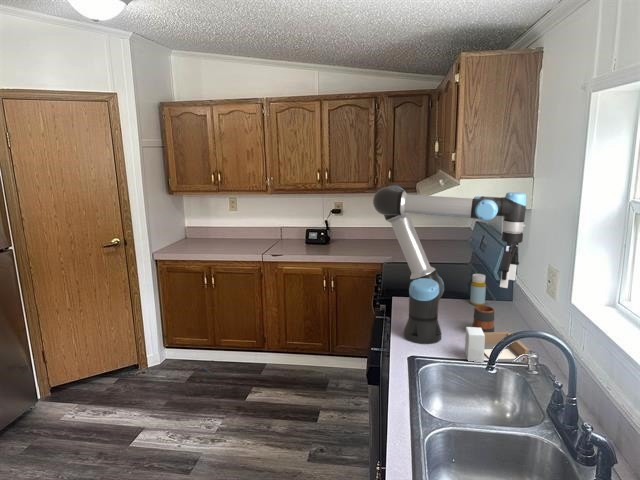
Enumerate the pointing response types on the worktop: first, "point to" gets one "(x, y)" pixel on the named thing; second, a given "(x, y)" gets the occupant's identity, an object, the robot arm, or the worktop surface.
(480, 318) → the mug
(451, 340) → the worktop surface
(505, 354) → the brown piece
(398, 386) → the worktop surface
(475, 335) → the small box
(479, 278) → the bottle
